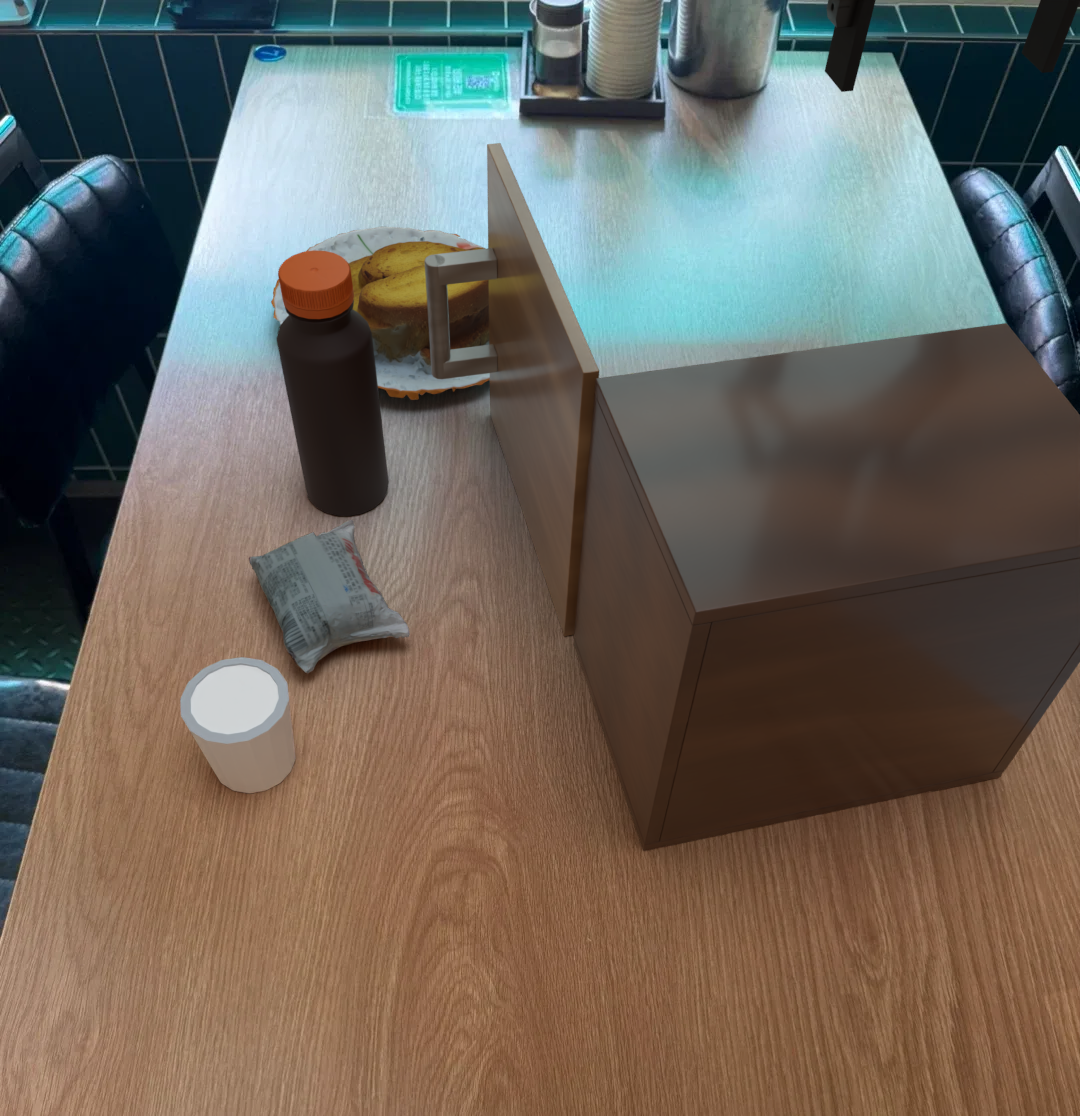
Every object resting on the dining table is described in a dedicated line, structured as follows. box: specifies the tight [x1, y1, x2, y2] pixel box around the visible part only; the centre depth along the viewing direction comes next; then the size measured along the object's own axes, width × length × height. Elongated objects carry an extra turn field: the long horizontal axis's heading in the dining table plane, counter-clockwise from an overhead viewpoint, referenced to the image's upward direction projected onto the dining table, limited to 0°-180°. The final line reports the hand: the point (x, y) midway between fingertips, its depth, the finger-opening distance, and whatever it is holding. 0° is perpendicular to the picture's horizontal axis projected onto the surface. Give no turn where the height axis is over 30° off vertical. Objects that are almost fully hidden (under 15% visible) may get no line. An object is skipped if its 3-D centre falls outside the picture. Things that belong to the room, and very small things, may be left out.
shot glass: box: [179, 656, 297, 794], centre depth 73 cm, size 7×7×7 cm
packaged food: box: [248, 519, 410, 674], centre depth 81 cm, size 9×12×5 cm
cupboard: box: [573, 322, 1080, 852], centre depth 70 cm, size 18×26×24 cm
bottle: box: [276, 250, 389, 517], centre depth 83 cm, size 7×7×20 cm
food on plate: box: [270, 226, 490, 401], centre depth 101 cm, size 25×25×7 cm
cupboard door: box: [425, 142, 600, 637], centre depth 80 cm, size 6×26×24 cm, turn 14°
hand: (939, 72), depth 69 cm, fingers open, 13 cm apart
